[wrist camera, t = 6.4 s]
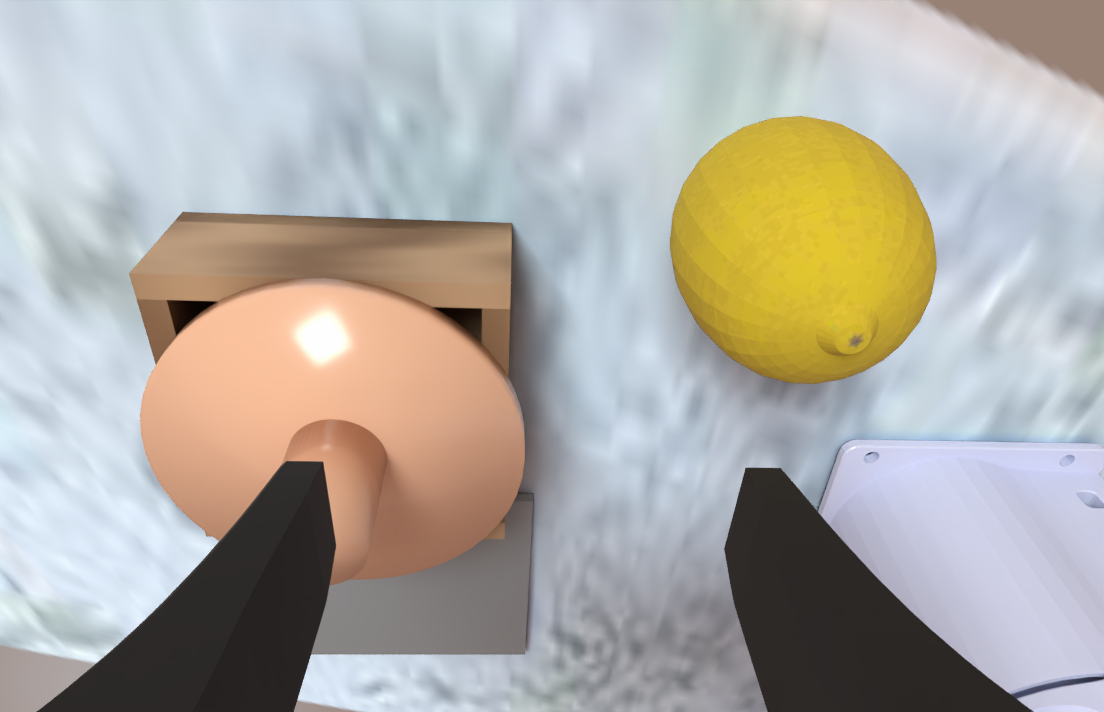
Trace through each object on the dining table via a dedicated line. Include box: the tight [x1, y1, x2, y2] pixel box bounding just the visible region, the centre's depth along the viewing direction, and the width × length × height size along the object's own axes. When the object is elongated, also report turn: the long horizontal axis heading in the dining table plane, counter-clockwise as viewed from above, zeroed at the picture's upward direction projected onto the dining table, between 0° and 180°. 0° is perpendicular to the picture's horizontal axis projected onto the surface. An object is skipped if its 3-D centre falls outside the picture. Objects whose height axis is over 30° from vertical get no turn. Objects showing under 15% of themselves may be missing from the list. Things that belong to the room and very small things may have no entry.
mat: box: [311, 493, 533, 654], centre depth 30 cm, size 9×9×1 cm
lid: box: [140, 278, 525, 585], centre depth 20 cm, size 10×10×4 cm
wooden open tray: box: [129, 212, 512, 539], centre depth 22 cm, size 9×9×4 cm
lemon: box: [670, 116, 937, 384], centre depth 18 cm, size 6×6×8 cm
